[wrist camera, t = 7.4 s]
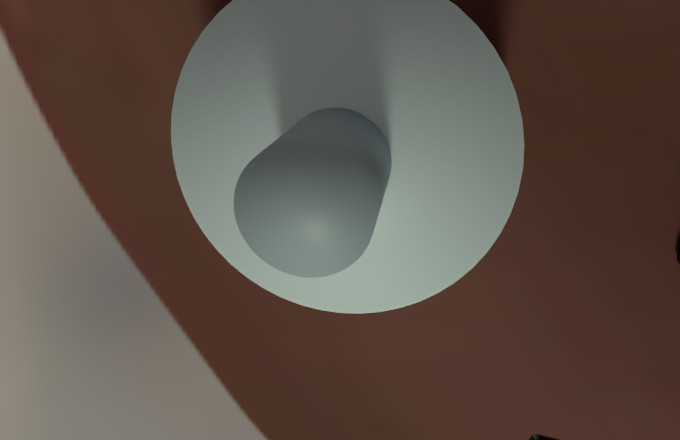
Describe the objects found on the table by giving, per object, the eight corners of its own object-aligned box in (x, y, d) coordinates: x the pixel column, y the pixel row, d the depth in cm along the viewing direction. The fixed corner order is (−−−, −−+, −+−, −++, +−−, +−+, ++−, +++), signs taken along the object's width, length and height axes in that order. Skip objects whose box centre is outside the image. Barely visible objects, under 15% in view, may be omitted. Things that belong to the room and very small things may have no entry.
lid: (566, -11, 12) (635, -23, 8) (475, 327, 17) (488, 438, 12) (178, -54, 14) (58, -83, 9) (186, 270, 18) (105, 353, 14)
